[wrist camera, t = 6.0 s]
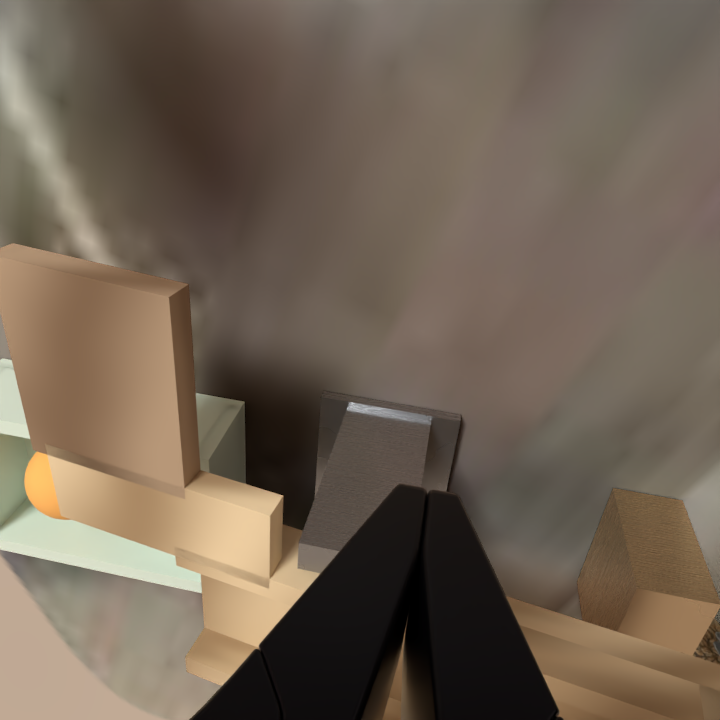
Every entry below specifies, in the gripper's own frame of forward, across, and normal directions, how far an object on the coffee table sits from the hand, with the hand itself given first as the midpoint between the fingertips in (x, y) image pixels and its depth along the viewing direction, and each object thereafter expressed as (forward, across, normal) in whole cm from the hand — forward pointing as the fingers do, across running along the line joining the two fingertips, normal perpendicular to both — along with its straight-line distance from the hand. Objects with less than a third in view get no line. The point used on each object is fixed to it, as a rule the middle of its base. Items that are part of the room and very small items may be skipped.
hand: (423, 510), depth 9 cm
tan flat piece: (+6, +1, +7) cm, 10 cm away
